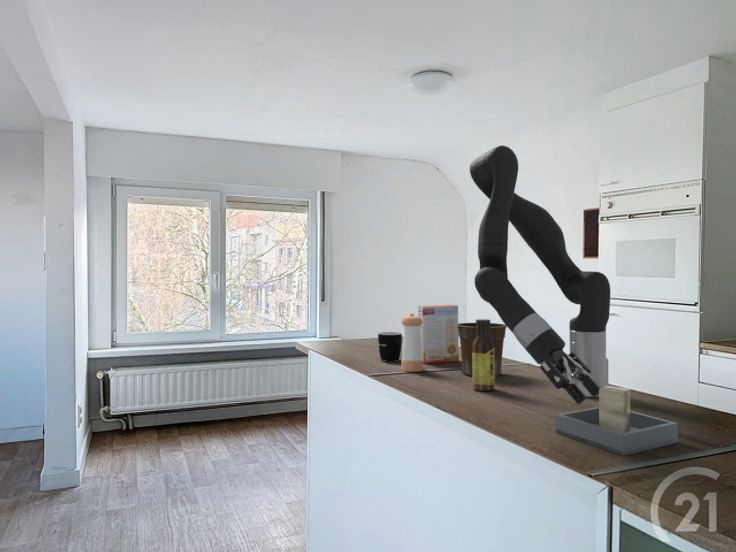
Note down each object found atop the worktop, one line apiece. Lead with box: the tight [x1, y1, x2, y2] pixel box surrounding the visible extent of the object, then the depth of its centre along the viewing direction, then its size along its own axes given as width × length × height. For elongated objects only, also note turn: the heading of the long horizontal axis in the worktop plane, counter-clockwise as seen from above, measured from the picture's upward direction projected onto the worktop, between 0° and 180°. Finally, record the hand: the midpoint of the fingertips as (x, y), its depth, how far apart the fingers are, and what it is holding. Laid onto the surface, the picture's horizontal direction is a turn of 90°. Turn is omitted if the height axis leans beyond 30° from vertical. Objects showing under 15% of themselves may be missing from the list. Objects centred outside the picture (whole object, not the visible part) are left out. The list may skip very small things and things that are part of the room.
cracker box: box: [417, 303, 460, 364], centre depth 199 cm, size 14×6×21 cm, turn 105°
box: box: [555, 406, 679, 457], centre depth 109 cm, size 16×16×4 cm
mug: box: [377, 331, 403, 362], centre depth 202 cm, size 12×9×10 cm
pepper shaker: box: [400, 313, 424, 373], centre depth 183 cm, size 7×7×19 cm
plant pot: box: [456, 322, 508, 377], centre depth 176 cm, size 16×16×16 cm
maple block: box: [598, 385, 631, 433], centre depth 109 cm, size 4×4×9 cm
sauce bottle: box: [472, 318, 496, 392], centre depth 153 cm, size 7×6×20 cm
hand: (590, 397), depth 113 cm, fingers open, 8 cm apart
